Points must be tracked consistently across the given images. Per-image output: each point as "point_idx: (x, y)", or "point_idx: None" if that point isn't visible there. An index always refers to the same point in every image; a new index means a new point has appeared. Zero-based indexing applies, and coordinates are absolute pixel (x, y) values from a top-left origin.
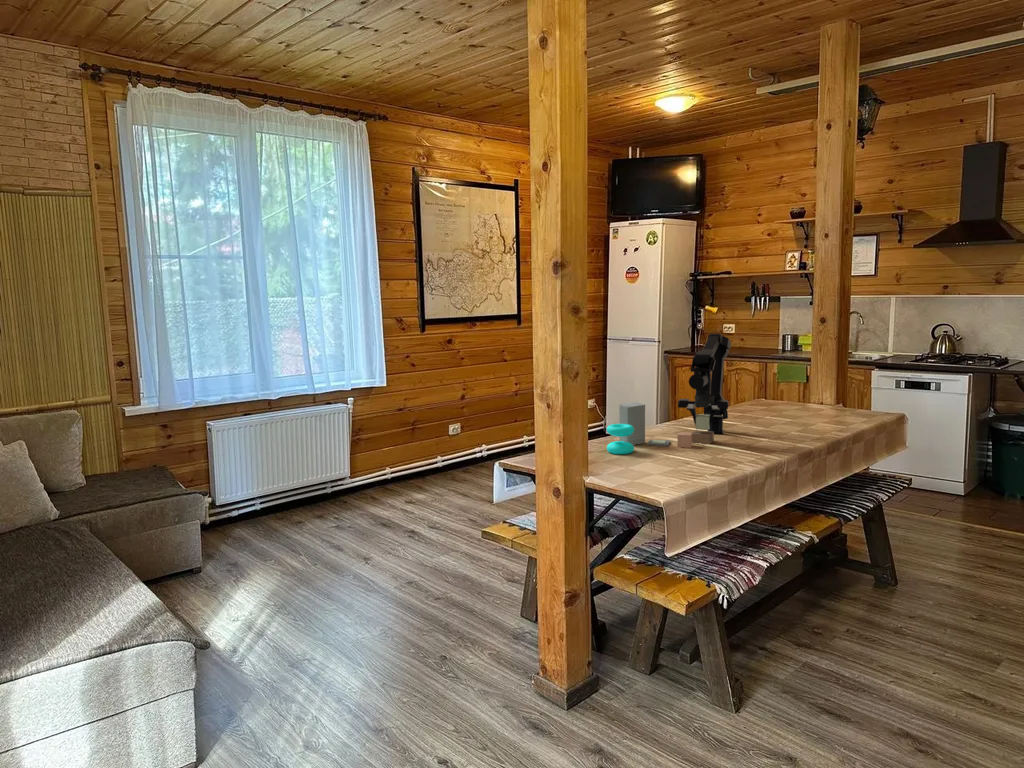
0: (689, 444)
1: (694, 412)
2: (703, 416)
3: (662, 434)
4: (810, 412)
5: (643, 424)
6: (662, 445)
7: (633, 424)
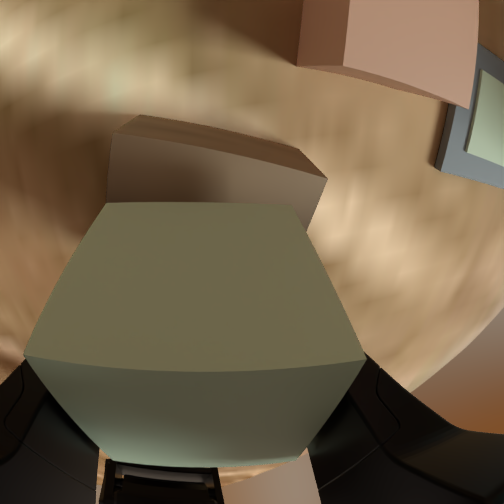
0: None
1: (403, 454)
2: (169, 399)
3: (408, 336)
4: None
5: None
6: (485, 49)
7: None
